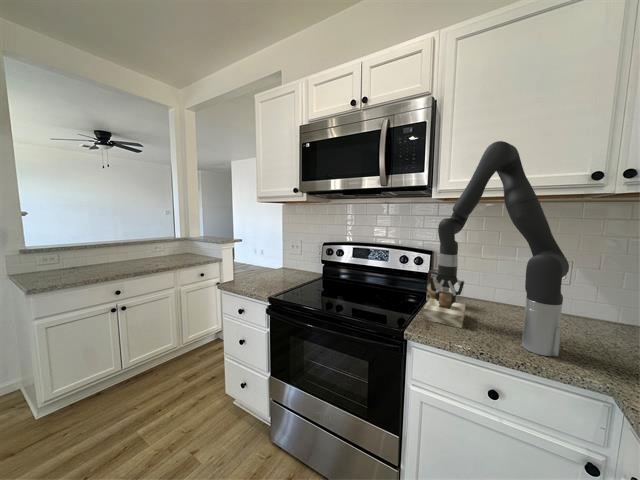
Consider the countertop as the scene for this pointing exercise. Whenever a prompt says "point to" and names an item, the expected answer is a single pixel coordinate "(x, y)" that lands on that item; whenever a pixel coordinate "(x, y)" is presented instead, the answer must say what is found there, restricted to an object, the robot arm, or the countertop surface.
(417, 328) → the countertop surface
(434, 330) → the countertop surface
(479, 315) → the countertop surface
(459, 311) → the birch block
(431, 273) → the coffee box
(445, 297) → the walnut peg
